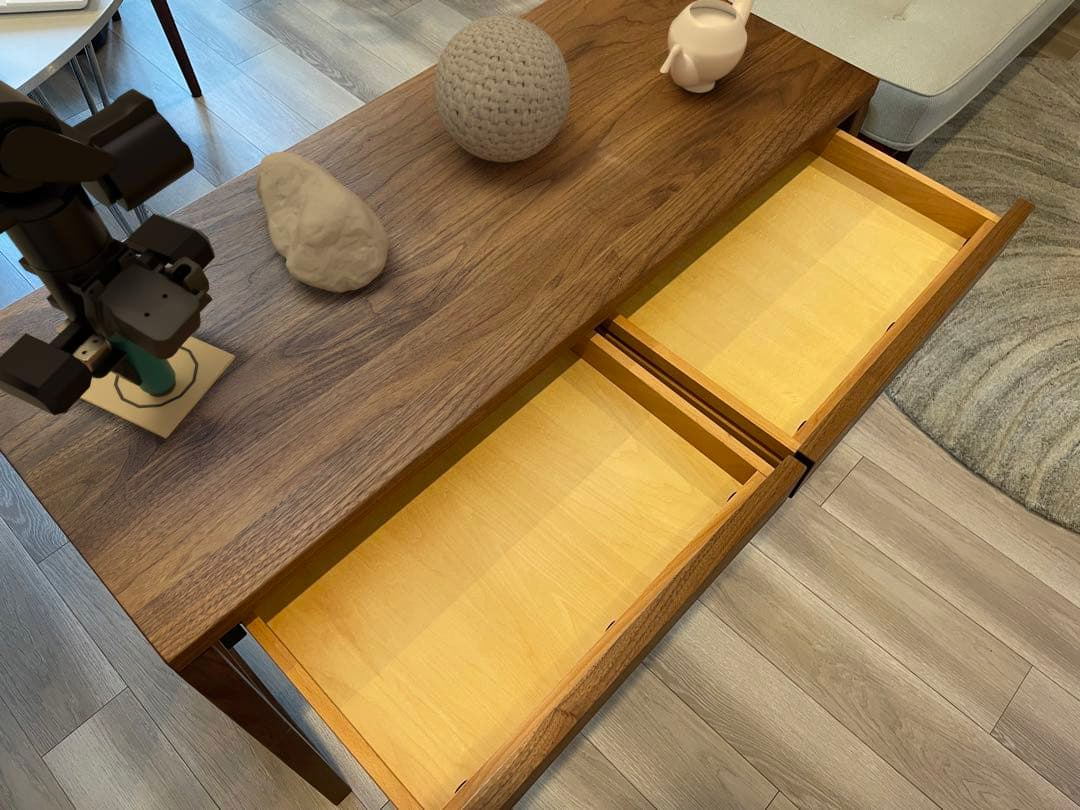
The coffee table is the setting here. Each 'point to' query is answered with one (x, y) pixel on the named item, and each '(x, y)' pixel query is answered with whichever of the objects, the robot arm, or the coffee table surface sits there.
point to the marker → (147, 367)
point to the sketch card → (162, 414)
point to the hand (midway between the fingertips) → (149, 368)
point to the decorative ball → (502, 88)
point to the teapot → (706, 42)
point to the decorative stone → (320, 224)
